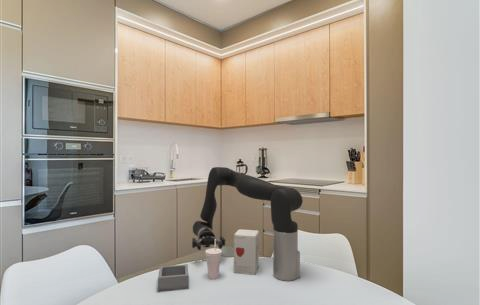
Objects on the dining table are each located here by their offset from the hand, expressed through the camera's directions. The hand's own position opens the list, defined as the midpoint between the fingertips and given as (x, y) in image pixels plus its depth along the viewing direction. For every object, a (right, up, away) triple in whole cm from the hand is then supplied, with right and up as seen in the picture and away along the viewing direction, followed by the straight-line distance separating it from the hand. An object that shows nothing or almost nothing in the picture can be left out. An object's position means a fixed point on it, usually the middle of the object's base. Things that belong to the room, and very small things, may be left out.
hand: (210, 247), depth 108 cm
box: (-11, -7, -16) cm, 21 cm away
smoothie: (+2, -8, -10) cm, 13 cm away
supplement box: (+15, -8, -3) cm, 17 cm away
